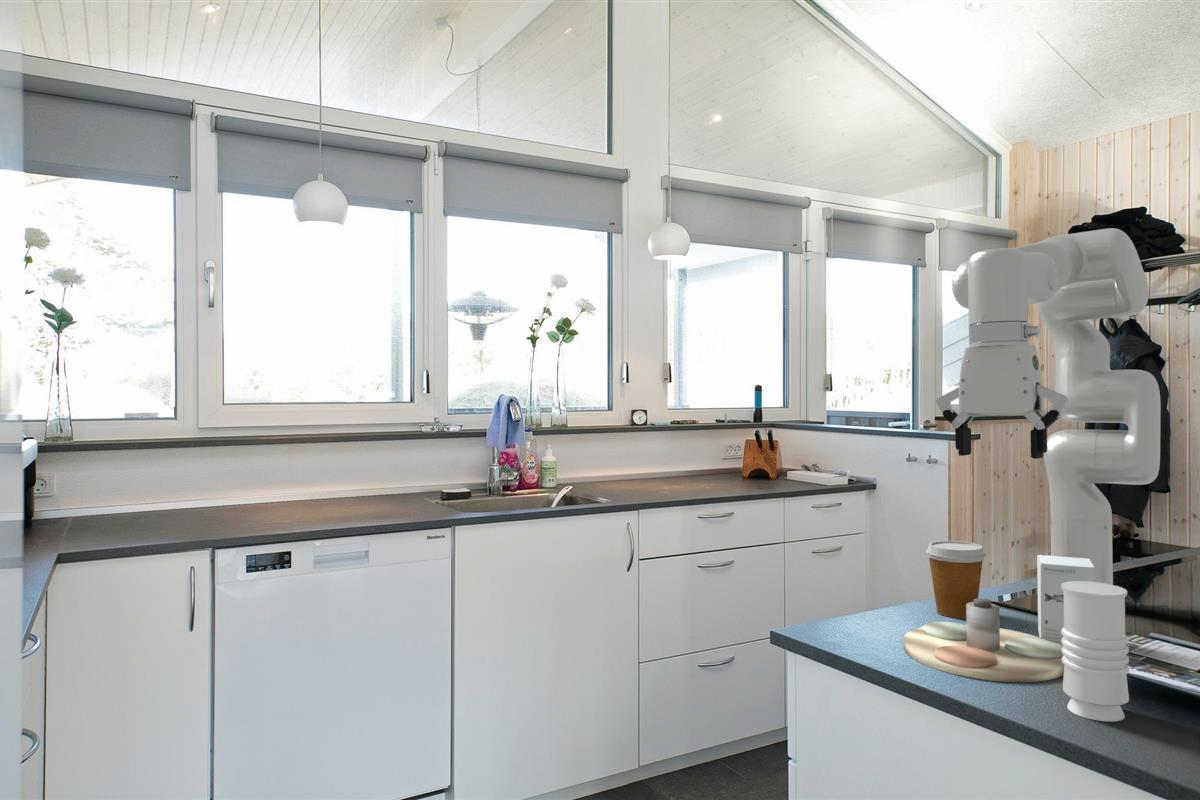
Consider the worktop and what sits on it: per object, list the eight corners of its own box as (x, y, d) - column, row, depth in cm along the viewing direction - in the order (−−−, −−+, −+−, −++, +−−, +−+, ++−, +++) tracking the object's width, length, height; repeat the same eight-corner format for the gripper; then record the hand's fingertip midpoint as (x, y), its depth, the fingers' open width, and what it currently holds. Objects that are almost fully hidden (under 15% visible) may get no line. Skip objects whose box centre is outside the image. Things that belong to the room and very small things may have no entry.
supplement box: (1039, 644, 117) (1038, 562, 117) (1037, 631, 124) (1036, 553, 124) (1096, 651, 114) (1095, 566, 114) (1091, 637, 120) (1090, 557, 120)
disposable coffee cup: (976, 624, 128) (975, 553, 128) (918, 614, 134) (917, 546, 134) (993, 612, 135) (992, 544, 135) (938, 603, 141) (936, 538, 141)
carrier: (938, 623, 129) (937, 576, 129) (1088, 652, 113) (1087, 598, 113) (878, 656, 113) (877, 602, 113) (1043, 695, 98) (1042, 633, 98)
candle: (1136, 710, 93) (1134, 587, 93) (1121, 728, 88) (1119, 598, 88) (1072, 695, 98) (1070, 578, 98) (1054, 711, 93) (1052, 588, 93)
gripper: (1074, 333, 106) (1076, 457, 106) (946, 341, 118) (948, 452, 118) (1058, 331, 100) (1060, 461, 100) (926, 339, 113) (928, 455, 113)
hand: (1000, 456), depth 109 cm, fingers open, 9 cm apart
